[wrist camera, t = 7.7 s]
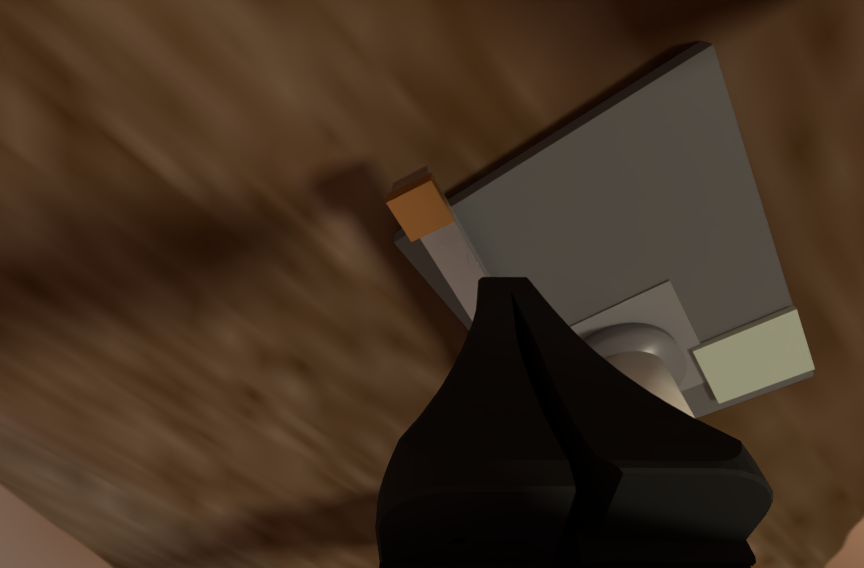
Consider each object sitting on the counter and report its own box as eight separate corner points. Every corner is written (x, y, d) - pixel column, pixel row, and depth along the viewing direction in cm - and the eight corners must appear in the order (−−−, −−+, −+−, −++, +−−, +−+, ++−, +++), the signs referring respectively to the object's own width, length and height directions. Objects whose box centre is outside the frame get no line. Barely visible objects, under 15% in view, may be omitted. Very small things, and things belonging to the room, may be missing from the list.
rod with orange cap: (558, 384, 24) (565, 409, 23) (519, 397, 24) (523, 422, 23) (436, 160, 17) (436, 177, 16) (385, 186, 18) (381, 205, 16)
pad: (716, 399, 27) (719, 403, 26) (690, 347, 24) (692, 351, 24) (811, 364, 25) (814, 369, 25) (792, 305, 23) (796, 309, 22)
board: (576, 447, 31) (584, 478, 29) (394, 232, 21) (391, 257, 20) (803, 363, 26) (830, 393, 24) (700, 40, 17) (732, 50, 15)
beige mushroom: (593, 414, 27) (624, 504, 23) (544, 356, 25) (568, 446, 20) (694, 372, 25) (750, 462, 21) (653, 304, 22) (707, 391, 18)
